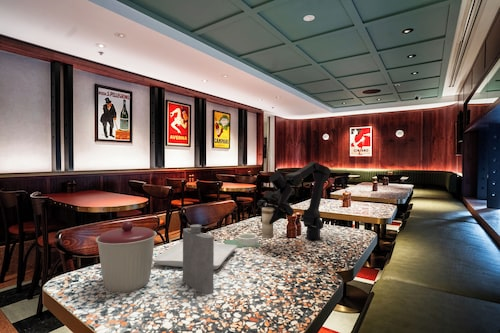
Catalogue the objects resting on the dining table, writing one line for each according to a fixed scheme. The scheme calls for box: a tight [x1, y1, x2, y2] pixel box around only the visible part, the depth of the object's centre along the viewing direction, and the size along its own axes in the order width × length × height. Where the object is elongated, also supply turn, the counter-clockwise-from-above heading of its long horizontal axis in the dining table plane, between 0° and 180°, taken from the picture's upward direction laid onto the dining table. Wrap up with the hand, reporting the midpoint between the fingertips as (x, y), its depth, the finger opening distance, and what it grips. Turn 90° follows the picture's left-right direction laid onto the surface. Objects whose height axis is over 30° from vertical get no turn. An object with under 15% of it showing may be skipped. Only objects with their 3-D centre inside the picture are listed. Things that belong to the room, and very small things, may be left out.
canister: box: [94, 220, 157, 294], centre depth 90 cm, size 18×18×21 cm
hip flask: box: [182, 224, 215, 295], centre depth 90 cm, size 16×4×20 cm, turn 42°
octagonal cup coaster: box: [223, 233, 261, 249], centre depth 137 cm, size 18×15×4 cm
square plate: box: [152, 241, 238, 270], centre depth 115 cm, size 27×27×4 cm
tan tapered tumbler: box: [261, 207, 275, 240], centre depth 124 cm, size 5×5×13 cm
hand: (265, 222), depth 123 cm, fingers closed on tan tapered tumbler, 5 cm apart
